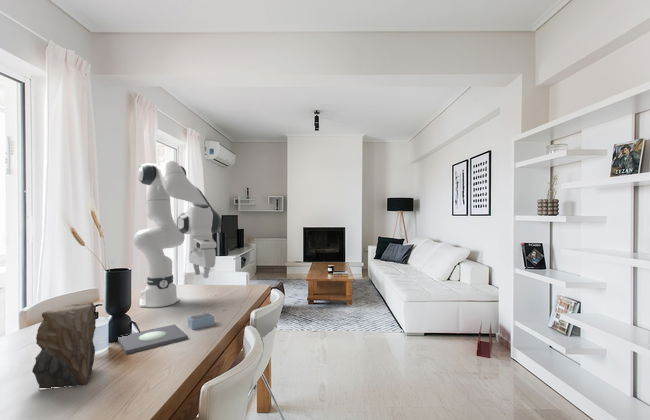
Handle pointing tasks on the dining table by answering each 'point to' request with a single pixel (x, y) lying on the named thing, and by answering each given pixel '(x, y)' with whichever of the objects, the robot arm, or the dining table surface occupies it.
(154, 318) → the dining table surface
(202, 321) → the phone
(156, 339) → the charging mat
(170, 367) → the dining table surface
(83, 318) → the brown rock
